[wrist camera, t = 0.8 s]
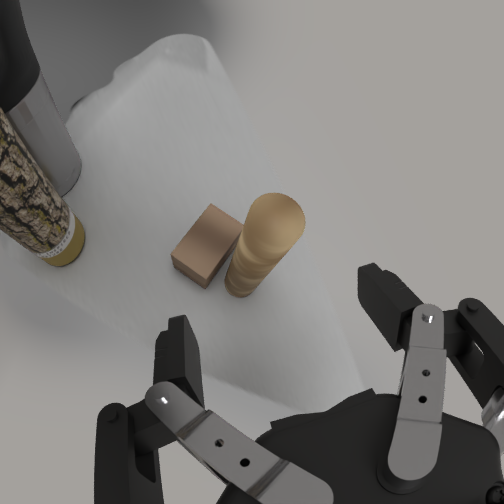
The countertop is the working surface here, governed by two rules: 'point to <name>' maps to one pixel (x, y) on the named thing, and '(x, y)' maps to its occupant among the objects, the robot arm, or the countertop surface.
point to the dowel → (263, 241)
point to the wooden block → (207, 245)
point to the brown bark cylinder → (34, 204)
